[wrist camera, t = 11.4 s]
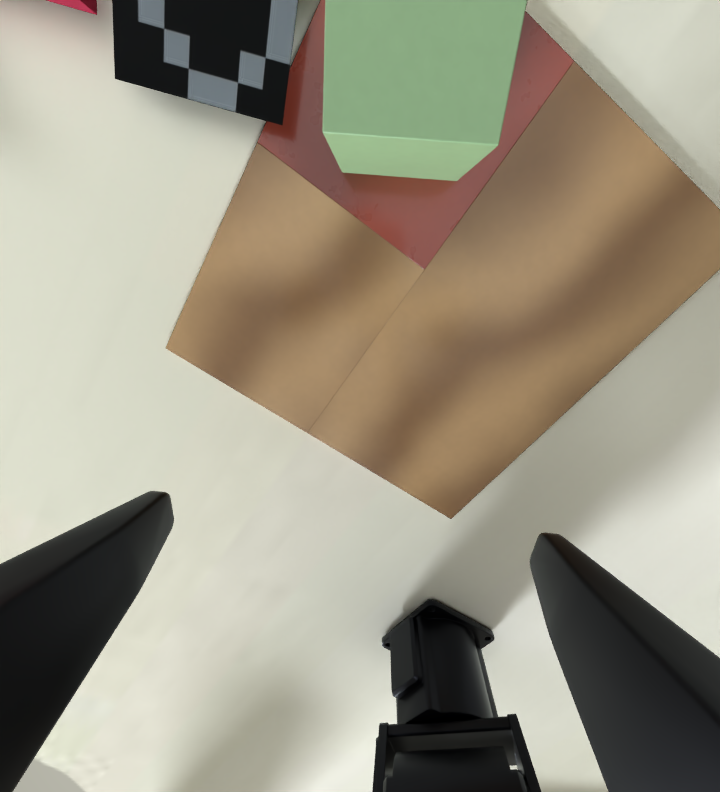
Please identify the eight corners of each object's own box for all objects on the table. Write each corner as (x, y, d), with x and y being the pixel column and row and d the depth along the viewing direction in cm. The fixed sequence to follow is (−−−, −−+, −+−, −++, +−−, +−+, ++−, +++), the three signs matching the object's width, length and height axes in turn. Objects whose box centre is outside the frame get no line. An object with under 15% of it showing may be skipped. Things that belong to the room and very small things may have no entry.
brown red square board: (746, 240, 15) (751, 240, 15) (450, 517, 22) (451, 519, 22) (381, -131, 11) (381, -137, 11) (167, 347, 18) (165, 348, 18)
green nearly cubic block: (482, 23, 12) (553, -129, 7) (457, 181, 14) (499, 145, 9) (348, 14, 13) (328, -143, 8) (341, 172, 15) (321, 132, 10)
